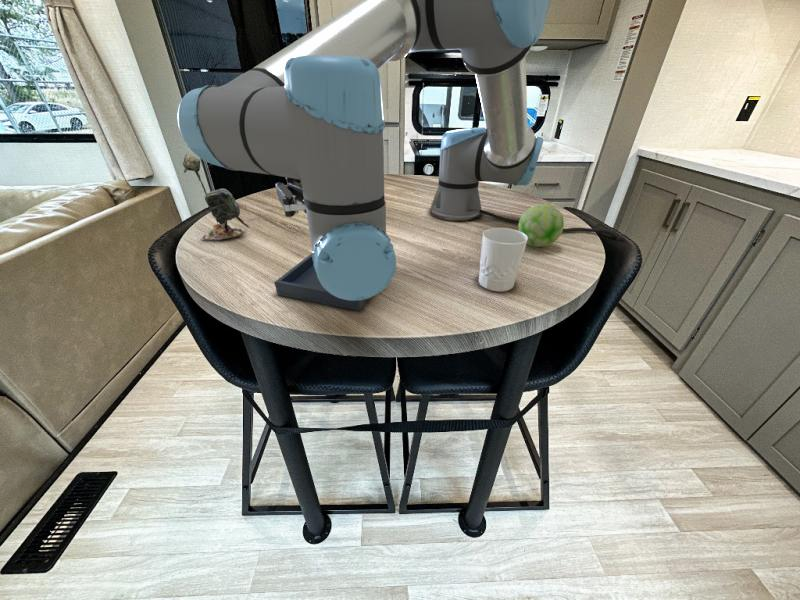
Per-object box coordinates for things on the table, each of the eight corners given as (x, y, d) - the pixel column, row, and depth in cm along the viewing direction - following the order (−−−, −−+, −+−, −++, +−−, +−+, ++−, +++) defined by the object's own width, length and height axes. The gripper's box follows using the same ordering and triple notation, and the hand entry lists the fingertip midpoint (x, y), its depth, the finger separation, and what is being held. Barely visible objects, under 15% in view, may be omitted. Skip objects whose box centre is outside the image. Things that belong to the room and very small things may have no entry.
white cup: (471, 274, 67) (477, 228, 61) (508, 272, 67) (517, 226, 62) (482, 294, 60) (490, 244, 55) (523, 292, 61) (535, 243, 55)
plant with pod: (240, 243, 80) (215, 156, 69) (197, 241, 81) (165, 154, 70) (256, 231, 86) (235, 149, 75) (216, 229, 87) (190, 148, 76)
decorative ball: (539, 257, 73) (551, 214, 68) (506, 242, 80) (514, 202, 75) (566, 248, 78) (579, 206, 72) (532, 234, 85) (541, 196, 79)
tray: (391, 268, 69) (391, 256, 67) (359, 311, 55) (358, 297, 54) (322, 257, 73) (320, 246, 71) (277, 295, 60) (274, 281, 58)
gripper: (256, 253, 40) (266, 202, 59) (417, 236, 45) (381, 194, 64) (240, 192, 36) (257, 158, 55) (419, 181, 41) (380, 153, 60)
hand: (324, 178), depth 59 cm, fingers closed on plastic cup, 9 cm apart
